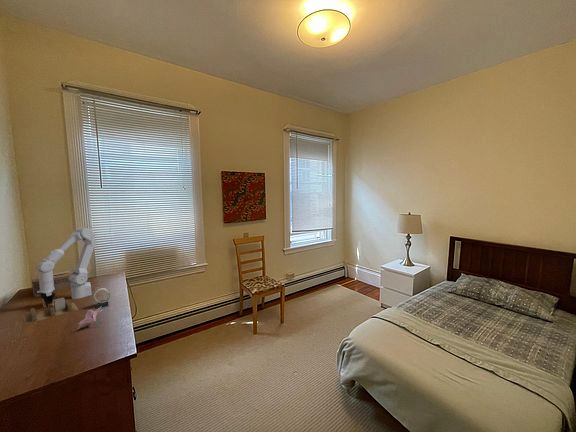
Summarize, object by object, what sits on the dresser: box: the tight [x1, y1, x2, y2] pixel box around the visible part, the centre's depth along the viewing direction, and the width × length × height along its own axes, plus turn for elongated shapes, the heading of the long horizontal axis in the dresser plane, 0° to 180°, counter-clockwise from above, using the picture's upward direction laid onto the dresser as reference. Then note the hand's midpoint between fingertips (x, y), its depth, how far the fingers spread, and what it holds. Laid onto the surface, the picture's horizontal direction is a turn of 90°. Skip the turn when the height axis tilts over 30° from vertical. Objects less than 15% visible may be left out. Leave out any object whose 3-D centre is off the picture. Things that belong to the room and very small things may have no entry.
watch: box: [93, 287, 112, 309], centre depth 136 cm, size 6×8×11 cm
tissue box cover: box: [31, 269, 74, 297], centre depth 165 cm, size 26×14×10 cm, turn 139°
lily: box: [77, 306, 104, 331], centre depth 115 cm, size 12×12×10 cm
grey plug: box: [53, 297, 66, 312], centre depth 131 cm, size 4×4×6 cm
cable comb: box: [22, 299, 79, 325], centre depth 128 cm, size 20×14×4 cm
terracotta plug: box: [42, 298, 55, 309], centre depth 136 cm, size 4×4×6 cm
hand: (48, 304), depth 136 cm, fingers open, 5 cm apart
